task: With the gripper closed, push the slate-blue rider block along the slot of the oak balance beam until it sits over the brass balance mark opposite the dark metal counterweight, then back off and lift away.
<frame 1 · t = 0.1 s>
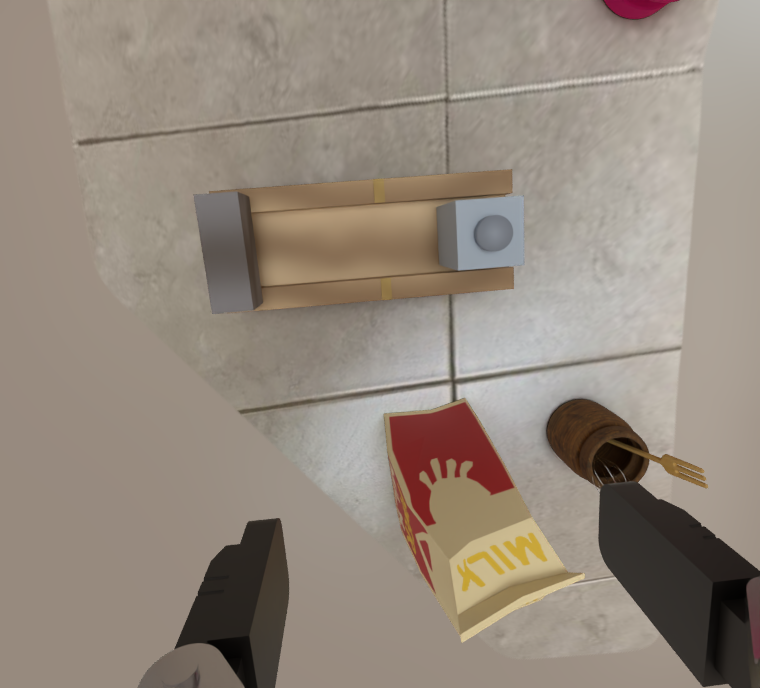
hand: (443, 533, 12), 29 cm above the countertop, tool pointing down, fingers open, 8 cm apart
rider: (479, 233, 30), point 9 cm above the countertop, slide at 7.0 cm
beam: (364, 241, 39), on the countertop
milk carton: (436, 450, 43), on the countertop
utensil holder: (576, 426, 44), on the countertop
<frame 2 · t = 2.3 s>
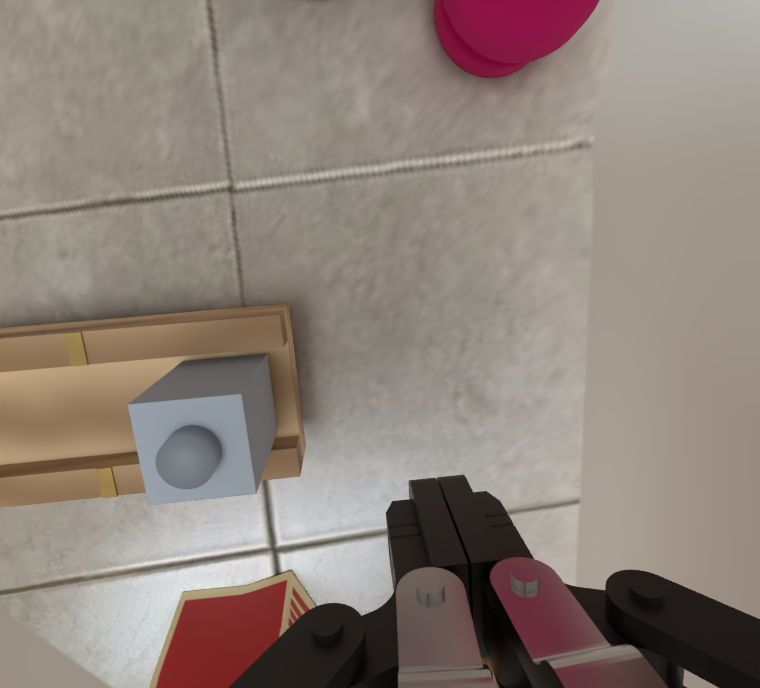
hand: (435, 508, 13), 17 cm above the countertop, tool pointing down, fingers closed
rider: (212, 424, 20), point 9 cm above the countertop, slide at 7.0 cm
beam: (131, 378, 28), on the countertop
milk carton: (260, 632, 33), on the countertop
pepper mill: (491, 15, 25), on the countertop
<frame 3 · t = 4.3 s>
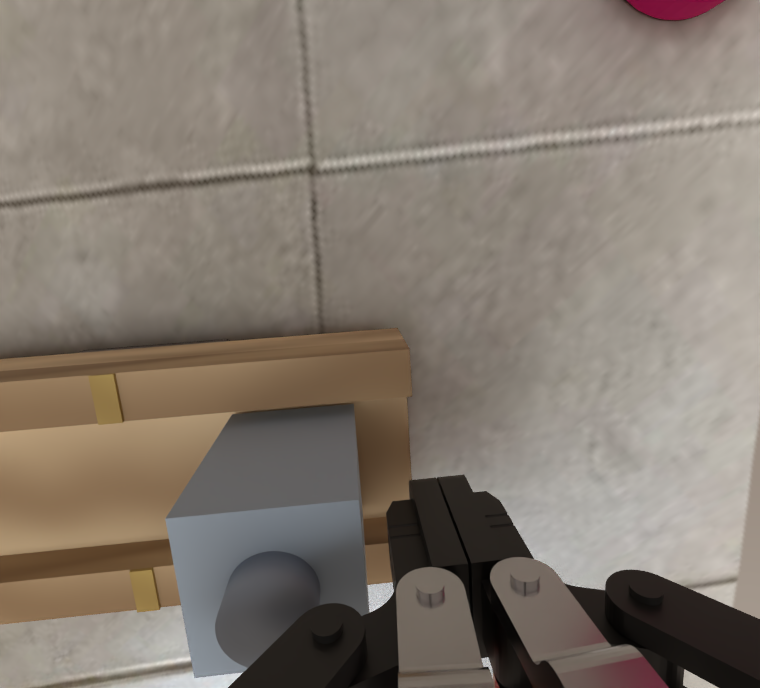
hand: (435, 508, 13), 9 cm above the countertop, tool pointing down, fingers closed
rider: (287, 524, 13), point 9 cm above the countertop, slide at 6.2 cm, touching gripper
beam: (169, 422, 21), on the countertop
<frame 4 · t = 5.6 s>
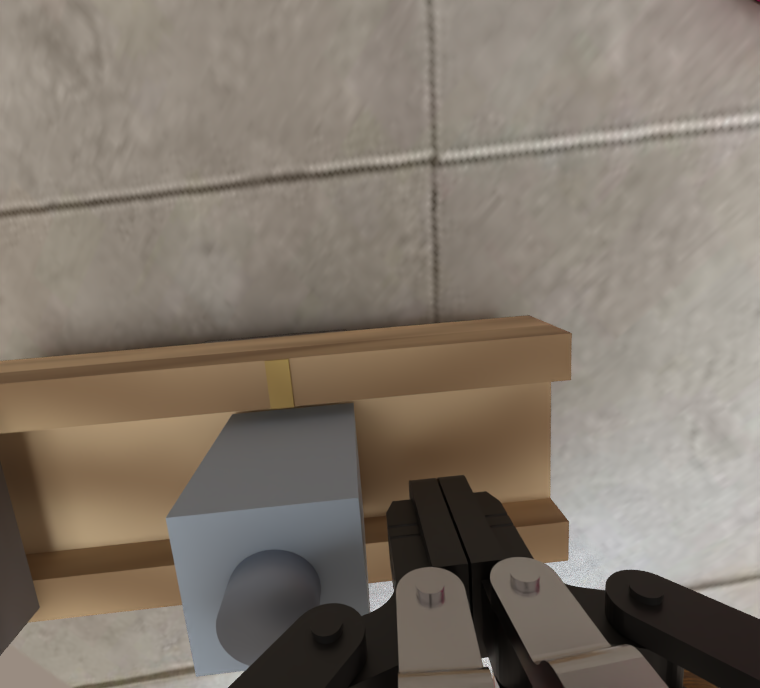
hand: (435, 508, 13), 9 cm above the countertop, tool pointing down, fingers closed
rider: (288, 523, 13), point 9 cm above the countertop, slide at 1.1 cm, touching gripper
beam: (285, 411, 21), on the countertop
utensil holder: (650, 685, 27), on the countertop
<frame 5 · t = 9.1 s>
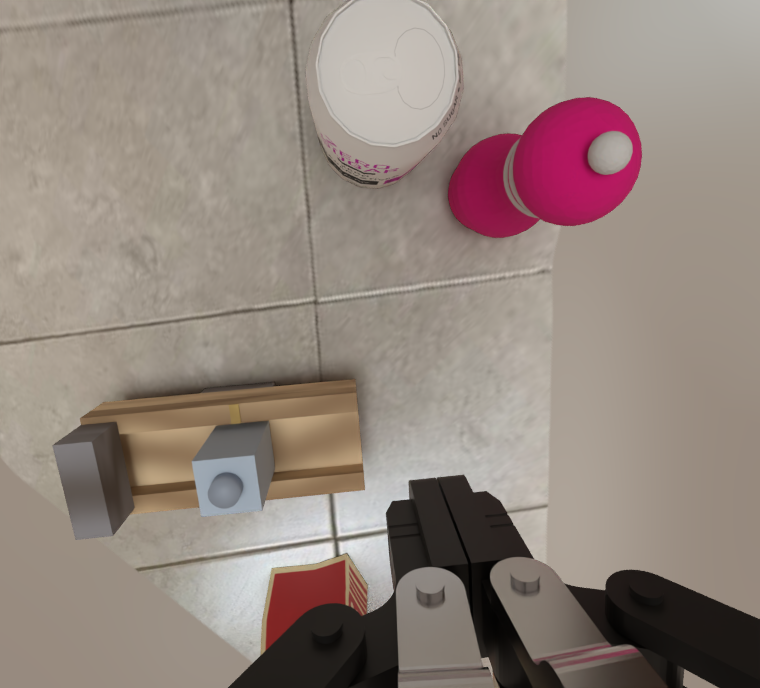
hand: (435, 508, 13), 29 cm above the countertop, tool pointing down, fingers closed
rider: (236, 468, 34), point 9 cm above the countertop, slide at 1.1 cm
beam: (245, 422, 42), on the countertop
milk carton: (323, 597, 47), on the countertop
supplement can: (371, 135, 38), on the countertop
pepper mill: (484, 193, 40), on the countertop
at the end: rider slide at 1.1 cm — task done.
